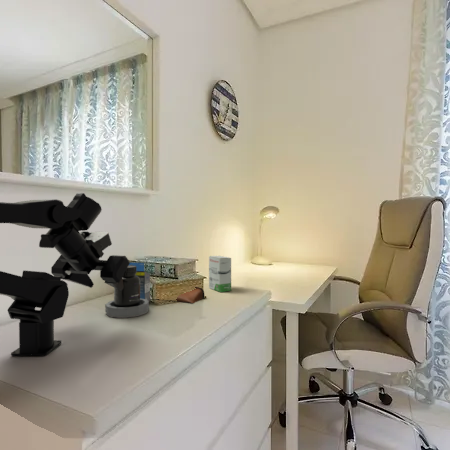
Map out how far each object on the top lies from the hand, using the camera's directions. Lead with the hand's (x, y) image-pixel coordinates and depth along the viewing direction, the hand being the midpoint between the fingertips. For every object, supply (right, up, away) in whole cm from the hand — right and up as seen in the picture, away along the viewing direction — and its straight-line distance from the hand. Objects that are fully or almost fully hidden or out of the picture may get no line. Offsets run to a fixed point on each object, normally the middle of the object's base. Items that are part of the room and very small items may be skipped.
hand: (107, 287), depth 82 cm
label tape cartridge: (+2, -8, +19) cm, 21 cm away
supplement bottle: (+3, -8, +7) cm, 11 cm away
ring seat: (+3, -8, +8) cm, 12 cm away
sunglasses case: (+13, -8, +23) cm, 28 cm away
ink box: (+28, -8, +36) cm, 46 cm away
